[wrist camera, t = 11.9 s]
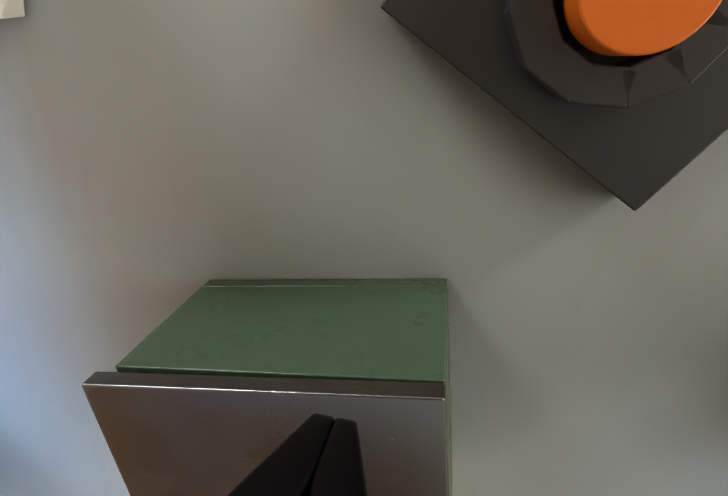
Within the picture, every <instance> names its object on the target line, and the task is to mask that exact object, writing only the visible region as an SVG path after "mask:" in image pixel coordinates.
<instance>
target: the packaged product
mask: <svg viewBox="0 0 728 496" xmlns="http://www.w3.org/2000/svg"><path fill="white" fill-rule="evenodd" d="M15 17H25V14H24V0H0V19H5V18H15Z"/></svg>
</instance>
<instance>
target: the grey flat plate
mask: <svg viewBox="0 0 728 496" xmlns="http://www.w3.org/2000/svg"><path fill="white" fill-rule="evenodd" d="M82 387H83V390H84V392H85V394H86V396H87V399H88V401H89V403H90V406H91V408H92V410H93V412H94V415H95V417H96V419H97V421H98V424H99V426H100V428H101V430H102V433H103V435H104V437H105V439H106V442H107V444H108V446H109V448H110V451H111V453H112V455H113V457H114V460H115V462H116V464H117V466H118V469H119V471H120V473H121V475H122V478H123V480H124V482H125V484H126V487H127V489H128V491H129V493H130V496H227V495H228V494H229V493H230V492H231V491H232V490H233V489H234V488H235V487H236V486H237V485H238V484H239V483H240V482H241V481H243V480H244V479H245V478H246V477H247V476H248V475H249V474H250V473H251V472H252V471H253V470H254V469H255V468H256V467H257V466H258V465H259V464H260V463H261V462H263V461H264V460H265V459H266V458H267V457H268V456H269V455H270V454H271V453H272V452H273V451H274V450H275V449H276V448H277V447H278V446H279V445H280V444H281V443H282V442H284V441H285V440H286V439H287V438H288V437H289V436H290V435H291V434H292V433H293V432H294V431H295V430H296V429H297V428H298V427H299V426H300V425H301V424H302V423H304V422H305V421H306V420H307V419H308V418H309V417H310V416H311V415H312V414H315V413H318V414H323V415H328V416H332V417H333V418H334V419H335V420H336V418H343V419H348V420H352V421H355V422H356V423H357V425H358V432H359V438H360V445H361V451H362V458H363V465H364V471H365V478H366V485H367V491H368V496H449V485H448V456H447V426H446V397H445V385H444V383H435V382H404V381H373V380H342V379H311V378H281V377H250V376H219V375H188V374H157V373H126V372H95V373H94V374H93V375H92V376H90V377H89V378H88V379H87V380H86V381H85V382H84V383H83V384H82Z"/></svg>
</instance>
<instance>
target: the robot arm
mask: <svg viewBox="0 0 728 496" xmlns="http://www.w3.org/2000/svg"><path fill="white" fill-rule="evenodd" d="M227 496H368V491H367V485H366V478H365V471H364V465H363V458H362V451H361V445H360V438H359V432H358V425H357V423H356V422H355V421H352V420H348V419H343V418H336V420H335V419H334V418H333V417H332V416H328V415H323V414H318V413H315V414H312V415H311V416H310V417H309V418H308V419H307V420H306V421H305V422H304V423H302V424H301V425H300V426H299V427H298V428H297V429H296V430H295V431H294V432H293V433H292V434H291V435H290V436H289V437H288V438H287V439H286V440H285V441H284V442H282V443H281V444H280V445H279V446H278V447H277V448H276V449H275V450H274V451H273V452H272V453H271V454H270V455H269V456H268V457H267V458H266V459H265V460H264V461H263V462H261V463H260V464H259V465H258V466H257V467H256V468H255V469H254V470H253V471H252V472H251V473H250V474H249V475H248V476H247V477H246V478H245V479H244V480H243V481H241V482H240V483H239V484H238V485H237V486H236V487H235V488H234V489H233V490H232V491H231V492H230V493H229V494H228V495H227Z"/></svg>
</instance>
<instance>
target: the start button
mask: <svg viewBox="0 0 728 496" xmlns="http://www.w3.org/2000/svg"><path fill="white" fill-rule="evenodd" d="M721 2H722V0H563V12H564V17H565V20H566V23H567V26H568V28H569V30H570V32H571V34H572V35H573V36H574V38H575V39H576V40H577V41H578V42H579V43H580V44H581V45H582V46H584V47H585V48H587V49H588V50H590V51H592V52H595V53H598V54H601V55H606V56H642V55H649V54H654V53H658V52H661V51H664V50H666V49H669V48H671V47H673V46H675V45H677V44H679V43H680V42H682V41H684V40H685V39H687V38H688V37H690V36H691V35H692V34H694V33H695V32H696V31H697V30H698V29H699V28H700V27H701V26H703V25H704V24H705V23H706V21H707V20H708V19H709V18H710V17H711V16H712V15H713V13H714V12H715V10H716V9H717V8H718V6H719V5H720V3H721Z"/></svg>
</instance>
